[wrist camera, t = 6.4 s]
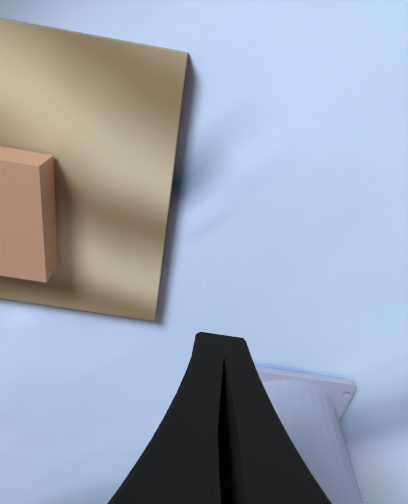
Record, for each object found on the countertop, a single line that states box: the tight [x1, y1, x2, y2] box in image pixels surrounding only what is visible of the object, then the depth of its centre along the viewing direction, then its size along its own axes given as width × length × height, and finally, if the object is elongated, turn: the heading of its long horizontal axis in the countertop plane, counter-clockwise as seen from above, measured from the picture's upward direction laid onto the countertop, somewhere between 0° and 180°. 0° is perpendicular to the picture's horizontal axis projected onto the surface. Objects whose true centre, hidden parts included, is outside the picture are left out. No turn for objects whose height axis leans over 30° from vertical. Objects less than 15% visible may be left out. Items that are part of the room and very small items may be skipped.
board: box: [0, 18, 189, 321], centre depth 19 cm, size 14×13×1 cm
